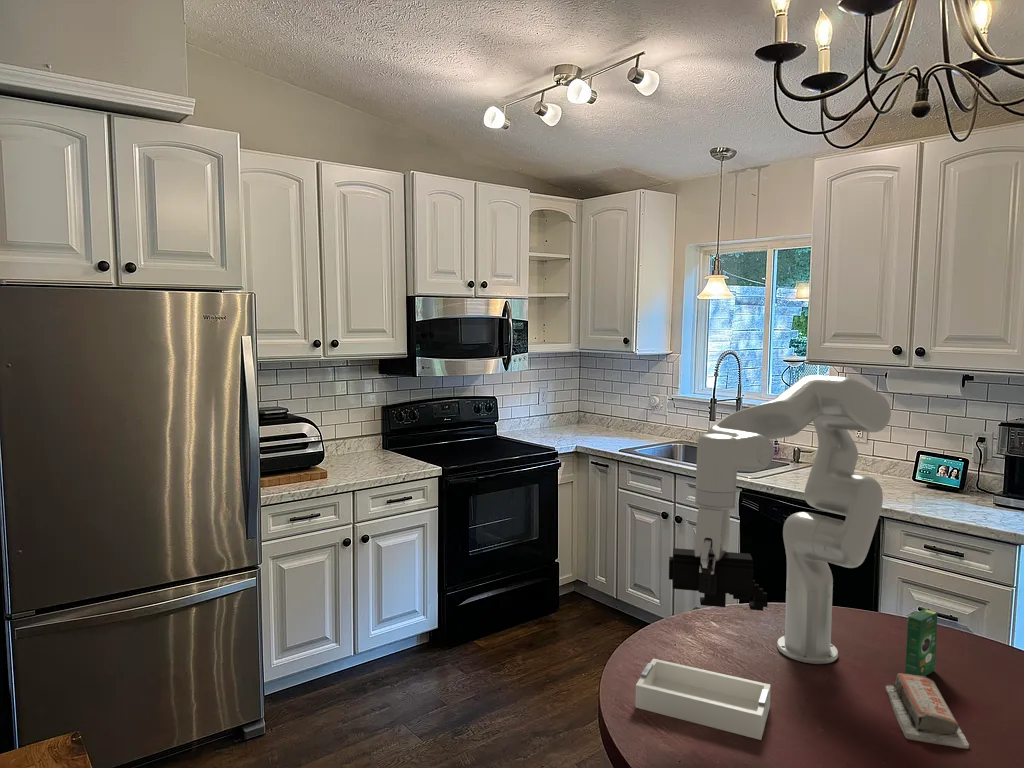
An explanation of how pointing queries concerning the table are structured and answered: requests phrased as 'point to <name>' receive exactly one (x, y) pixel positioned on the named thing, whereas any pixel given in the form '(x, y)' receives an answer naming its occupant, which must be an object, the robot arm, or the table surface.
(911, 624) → the coffee box
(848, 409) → the robot arm
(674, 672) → the cradle
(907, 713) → the packaged product
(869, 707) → the table surface
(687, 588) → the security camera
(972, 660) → the table surface
